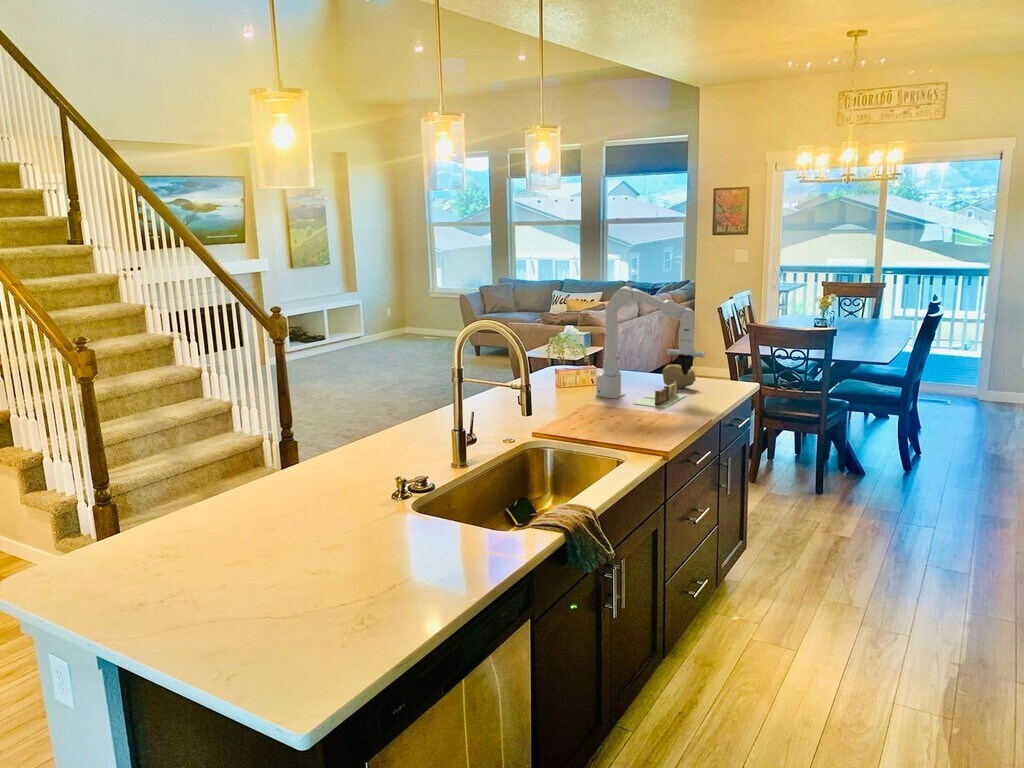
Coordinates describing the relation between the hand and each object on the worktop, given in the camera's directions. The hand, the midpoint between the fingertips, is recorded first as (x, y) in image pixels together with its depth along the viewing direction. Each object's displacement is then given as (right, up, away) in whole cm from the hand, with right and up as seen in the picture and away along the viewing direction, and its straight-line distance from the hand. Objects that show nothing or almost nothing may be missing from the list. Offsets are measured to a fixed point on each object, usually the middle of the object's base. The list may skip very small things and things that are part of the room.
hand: (685, 374), depth 299 cm
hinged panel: (-4, -8, +4) cm, 10 cm away
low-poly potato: (+2, -6, +20) cm, 21 cm away
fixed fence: (-10, -11, -4) cm, 16 cm away
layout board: (-10, -10, +1) cm, 14 cm away
